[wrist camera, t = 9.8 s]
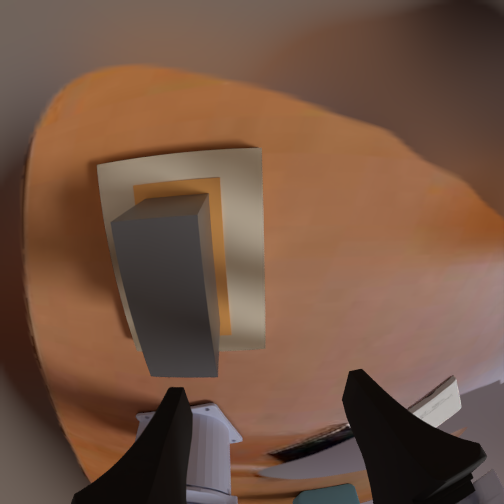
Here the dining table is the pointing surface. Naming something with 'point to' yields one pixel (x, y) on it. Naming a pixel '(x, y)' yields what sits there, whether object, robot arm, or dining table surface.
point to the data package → (329, 495)
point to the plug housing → (171, 283)
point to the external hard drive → (439, 404)
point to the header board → (222, 226)
